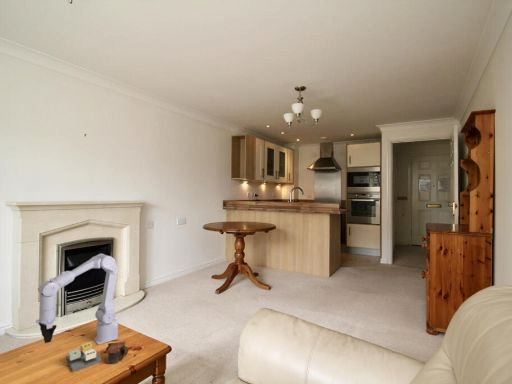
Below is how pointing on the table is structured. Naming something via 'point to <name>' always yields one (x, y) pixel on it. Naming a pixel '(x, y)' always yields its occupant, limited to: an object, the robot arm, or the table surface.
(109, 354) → the pottery mug
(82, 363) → the slate board
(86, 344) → the tile two mustard
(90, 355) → the tile three ivory
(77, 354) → the tile one sage
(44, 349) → the table surface
